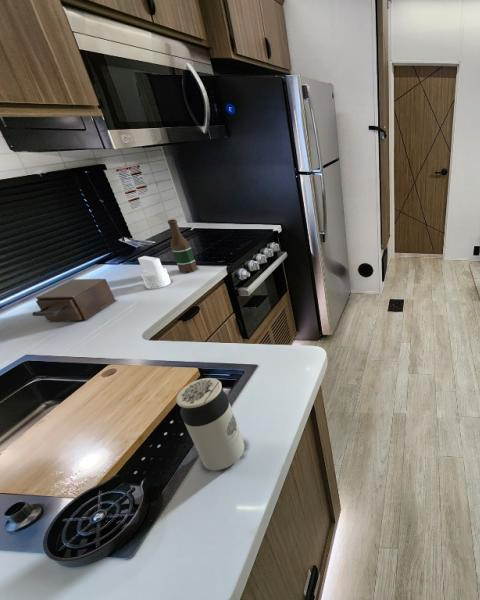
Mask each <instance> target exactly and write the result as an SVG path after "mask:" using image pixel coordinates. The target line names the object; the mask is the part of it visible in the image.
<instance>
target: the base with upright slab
mask: <svg viewBox="0 0 480 600" xmlns="http://www.w3.org/2000/svg"><path fill="white" fill-rule="evenodd" d="M137 260H138V262H139V265H140V267H141V270H142V272H141V273H140V276H141V278H142V281H143V283H144V286H145V287H146V289H148V290H149V289H150V290H155V289H161V288H164V287H167V286H168V285H170V284H171V282H172V281H171V279H170V276H169V273H168V271H167V268H166V267H163V265H162V262H161V260H160V258H159V257H153V256H147V255H143V256H140V257H138V258H137Z"/></svg>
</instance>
